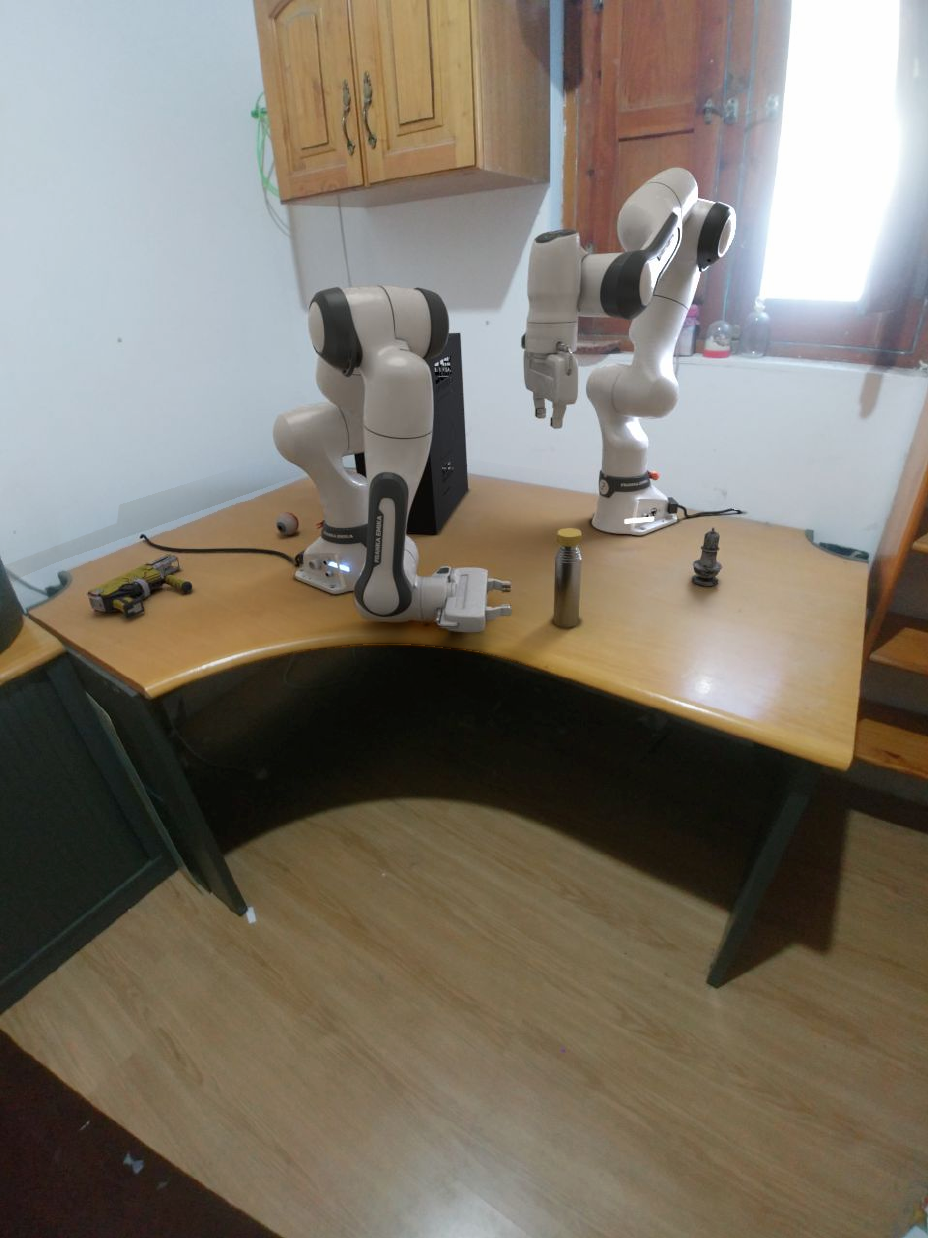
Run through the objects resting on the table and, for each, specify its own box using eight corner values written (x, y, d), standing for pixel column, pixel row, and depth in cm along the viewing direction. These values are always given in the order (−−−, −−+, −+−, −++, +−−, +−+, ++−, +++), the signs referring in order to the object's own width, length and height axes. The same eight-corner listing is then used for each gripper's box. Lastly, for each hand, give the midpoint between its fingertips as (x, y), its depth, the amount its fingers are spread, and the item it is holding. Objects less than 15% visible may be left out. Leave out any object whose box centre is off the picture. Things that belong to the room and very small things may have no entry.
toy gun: (216, 562, 143) (165, 551, 147) (137, 606, 123) (80, 592, 127) (219, 580, 145) (169, 569, 149) (142, 626, 125) (86, 611, 129)
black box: (436, 534, 159) (422, 349, 137) (364, 531, 164) (339, 351, 141) (468, 489, 191) (460, 332, 168) (407, 487, 195) (391, 335, 173)
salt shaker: (721, 586, 126) (731, 533, 120) (692, 585, 127) (700, 532, 121) (717, 574, 131) (726, 522, 125) (688, 573, 132) (696, 521, 126)
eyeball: (273, 537, 164) (268, 516, 161) (287, 528, 169) (282, 508, 166) (291, 539, 161) (286, 518, 158) (305, 530, 166) (301, 510, 163)
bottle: (557, 613, 120) (559, 528, 111) (581, 617, 118) (585, 531, 109) (550, 625, 116) (552, 537, 107) (574, 629, 115) (579, 540, 106)
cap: (560, 536, 112) (560, 526, 111) (583, 538, 110) (584, 529, 109) (553, 545, 108) (554, 535, 107) (577, 547, 107) (578, 538, 106)
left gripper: (432, 611, 106) (510, 610, 105) (443, 562, 124) (510, 561, 123) (434, 641, 109) (511, 640, 108) (445, 589, 127) (510, 588, 126)
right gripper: (590, 344, 96) (584, 433, 103) (550, 335, 114) (547, 411, 120) (552, 346, 95) (549, 435, 102) (518, 336, 113) (516, 413, 119)
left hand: (510, 598), depth 115 cm, fingers open, 8 cm apart
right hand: (547, 422), depth 111 cm, fingers open, 8 cm apart
